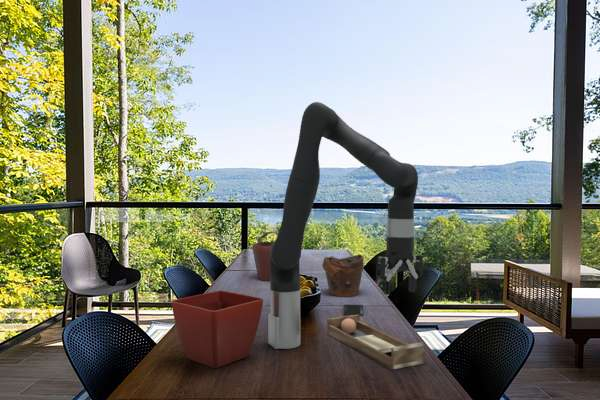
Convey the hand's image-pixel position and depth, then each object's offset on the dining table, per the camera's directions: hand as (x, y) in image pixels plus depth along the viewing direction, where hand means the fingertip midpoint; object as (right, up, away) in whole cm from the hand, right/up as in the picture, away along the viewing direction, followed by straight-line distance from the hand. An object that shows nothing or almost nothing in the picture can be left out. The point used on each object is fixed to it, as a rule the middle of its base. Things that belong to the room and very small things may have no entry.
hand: (399, 292), depth 134 cm
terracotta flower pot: (-8, -17, +85) cm, 88 cm away
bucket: (-41, -16, +122) cm, 130 cm away
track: (-6, -19, +13) cm, 24 cm away
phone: (-7, -18, +55) cm, 58 cm away
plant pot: (-51, -20, +4) cm, 55 cm away
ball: (-12, -16, +26) cm, 32 cm away
